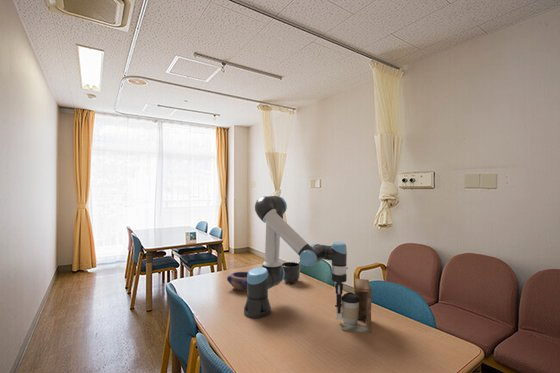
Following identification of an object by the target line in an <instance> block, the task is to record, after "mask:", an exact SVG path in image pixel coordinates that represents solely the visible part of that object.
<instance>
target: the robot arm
mask: <svg viewBox="0 0 560 373" xmlns="http://www.w3.org/2000/svg"><path fill="white" fill-rule="evenodd" d="M287 207H288V205H287V202H286V200H285V199H284V198H283V197H282V196H280V195H279V196H278V195H269V196H267V195H266V196H261V197H259V198H258V199H257V200H256V202H255V204H254V212H255V213H256V216H257V217H258V218H259V220H260V221H261V222H263V223H265V242H264V244H265V245H264V246H265V248H264V251H265V252H264V261H263V262H262V264H261V267H260V266H259V267H254V268H251V269H249V270H248V271H247V272H248V274H247V290H246V301H245V304H244V306H243V314H244V315H245V316H246V317H248V318H252V319H259V318H260V319H261V318H262V319H263V318H265V317H267V316H269V315H270V314H271V313H272V306H271V303H270V299H269V290H270V289H272V288H273V287H275V286H278V285H279V284H281V282H283V281H284V280H283V279H284V275H285V272H284V269H283V267H282V266H281V265H282V262H281V261H280V244H281V243H280V242H281V239H282V240H283V241H284V242H285V243H286V244H287V245H288V246H289V247H290V248H291V249H292V250H293V251H294V252H295V253H296V254H297V255H298V256H299V261H300V264H302V265H303V266H305V267H310V266H313V265H315V264H317V263H319V262H320V261H331V281H333V282H335V284H334V288H335V294H336V295H335V296H336V304H335V305H334V307H335V308H336V310H335V311H336V312H335V314H336V316H335V317H336V318H335V319H336V320H343V318H342V296H343V289H344V283H346V282H347V276H348V275H347V270H348V269H349V268H348V266H347V261H348V260H347V257H348V256H347V255H348V252H347V245H346V243H344V242H338V241H337V242H332V243H331V245H327V244H326V245H325V244H320V243H317V244H316V243H312V244H311V245H310V244H309V243H308V242H307V241H306V240H305V239H304V238H303V237H302V236H301V235H300V234H299V233H297V231H296V230H295V229H293V227H292V226H290V224H288V222H286V221H285V220H284V214H285V212H287V209H288V208H287Z"/></svg>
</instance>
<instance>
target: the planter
mask: <svg viewBox="0 0 560 373" xmlns="http://www.w3.org/2000/svg"><path fill="white" fill-rule="evenodd" d="M281 266H282V267H283V269H284V272H285V275H284V279H283V280H282V281H284V283H285V284H288V283H289V285H290V284H291V285H294V284H296V283H297V281H299V279H300V277H301V276H300V274H301V263H298V262H295V261H294V262H293V261H292V262H291V261H287V262H283V263H281ZM293 283H294V284H293Z"/></svg>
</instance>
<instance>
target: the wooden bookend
mask: <svg viewBox="0 0 560 373" xmlns="http://www.w3.org/2000/svg"><path fill="white" fill-rule="evenodd" d="M354 294H355V295H357V297H359V300H360V301H359V316H358V320H362V321H363V320H364V321H365V324H366V325H360V324H359V325H358V324H357V325H351V324H344V323H341V324H340V326H341V327H340V330H342V331H350V332H357V333H358V332H359V333H366V334H367V333H368V334H372V287H371V284H370V279H365V278H364V279H363V278H355V279H354ZM342 319H343V312H342Z"/></svg>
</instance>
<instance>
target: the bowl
mask: <svg viewBox="0 0 560 373" xmlns="http://www.w3.org/2000/svg"><path fill="white" fill-rule="evenodd" d="M248 272H249V271H235V272H232V273H231V274H229V275H227V277H226V281H227V282H228V283H229V284H230V285H231V286H232V287H233V288H234V289H235V290H236V289H237V291H242V290H244V291H247V274H248Z"/></svg>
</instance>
